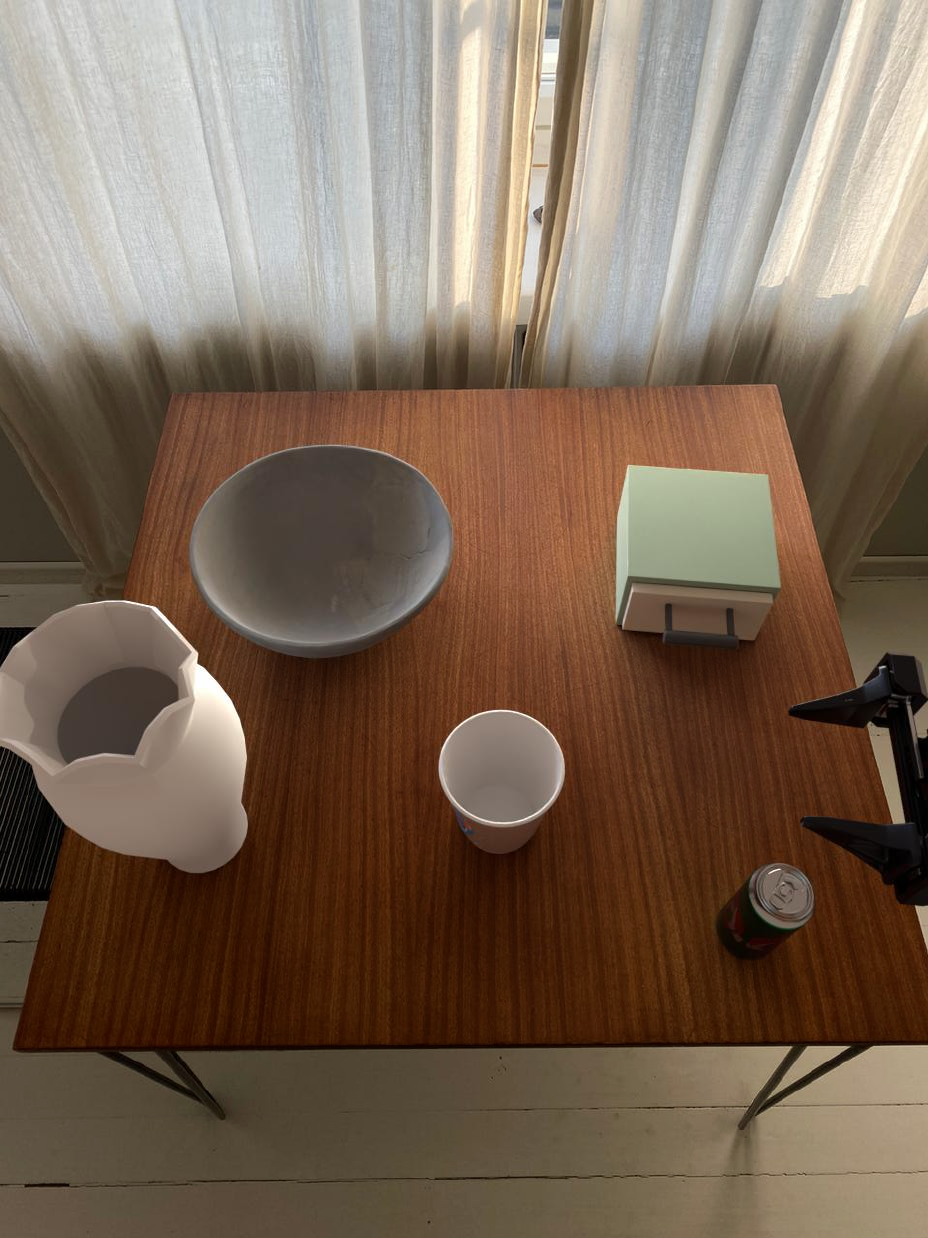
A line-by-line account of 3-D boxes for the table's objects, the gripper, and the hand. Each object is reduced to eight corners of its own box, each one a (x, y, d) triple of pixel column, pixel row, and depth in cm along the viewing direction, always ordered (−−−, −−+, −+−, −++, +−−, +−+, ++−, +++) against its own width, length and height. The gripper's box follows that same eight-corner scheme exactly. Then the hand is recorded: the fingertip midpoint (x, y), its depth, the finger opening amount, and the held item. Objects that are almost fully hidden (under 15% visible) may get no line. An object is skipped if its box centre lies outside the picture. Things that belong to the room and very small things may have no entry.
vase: (301, 768, 84) (231, 597, 60) (259, 923, 76) (158, 799, 52) (155, 748, 85) (28, 573, 61) (99, 898, 78) (-73, 765, 53)
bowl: (243, 493, 103) (222, 432, 95) (464, 506, 102) (463, 445, 94) (186, 687, 89) (157, 635, 81) (443, 705, 88) (440, 654, 79)
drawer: (757, 678, 88) (777, 642, 82) (622, 666, 89) (632, 630, 83) (745, 538, 98) (762, 497, 92) (623, 529, 99) (632, 487, 93)
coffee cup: (441, 769, 84) (437, 711, 74) (548, 764, 84) (558, 706, 74) (444, 875, 78) (440, 829, 68) (559, 870, 78) (571, 823, 68)
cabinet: (756, 636, 92) (781, 588, 84) (615, 624, 93) (627, 575, 85) (746, 527, 100) (768, 474, 92) (616, 517, 101) (628, 464, 93)
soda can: (785, 929, 75) (833, 889, 65) (753, 975, 73) (797, 941, 63) (735, 889, 77) (774, 844, 67) (702, 932, 75) (738, 893, 65)
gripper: (1030, 622, 65) (815, 605, 66) (1104, 871, 55) (849, 846, 56) (960, 694, 74) (773, 678, 75) (1012, 918, 64) (795, 896, 65)
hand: (795, 763), depth 67 cm, fingers open, 9 cm apart
